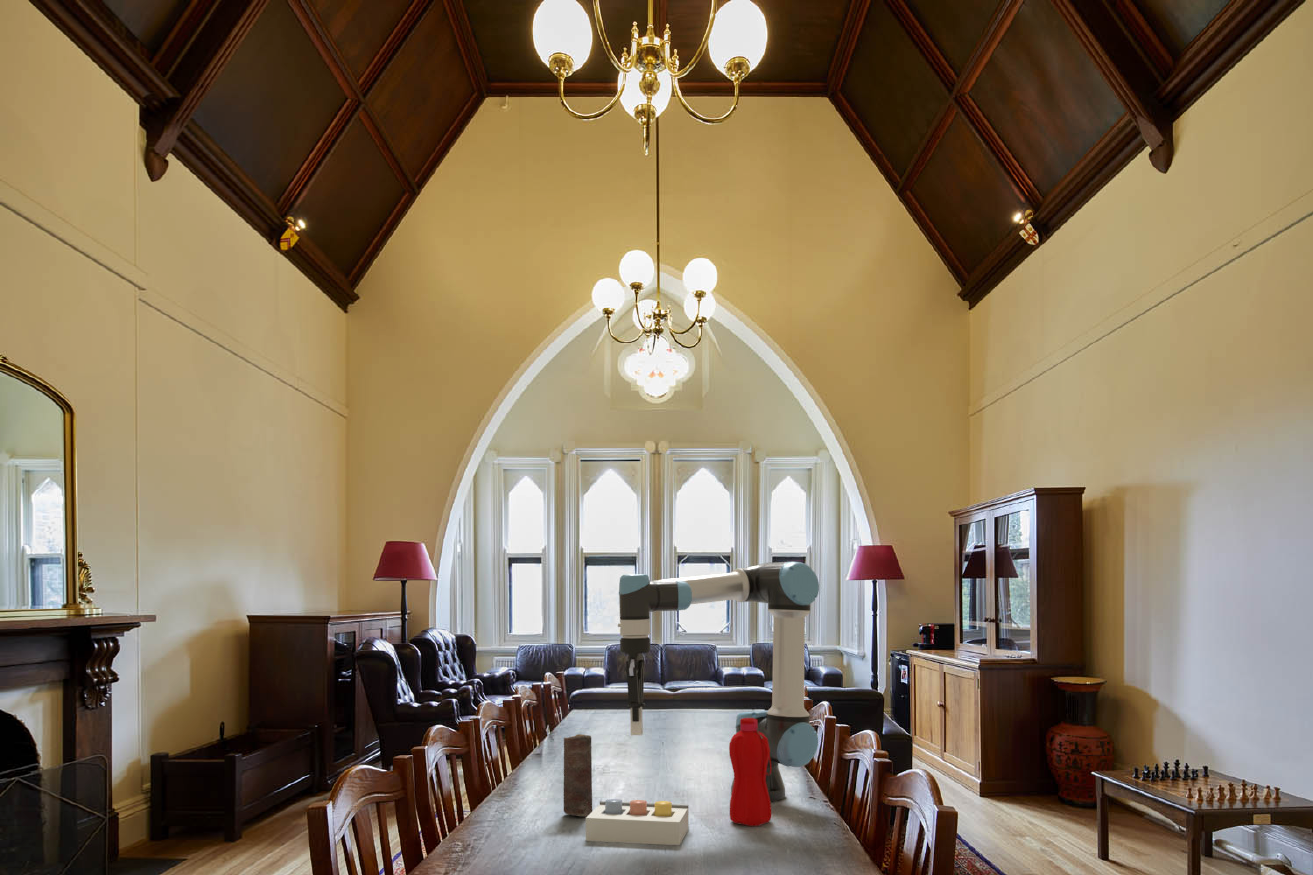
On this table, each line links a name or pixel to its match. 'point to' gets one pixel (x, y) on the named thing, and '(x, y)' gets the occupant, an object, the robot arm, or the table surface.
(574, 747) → the brown rounded bar
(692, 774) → the table surface
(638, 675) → the robot arm
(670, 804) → the button mustard
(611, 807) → the button slate
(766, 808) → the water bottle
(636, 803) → the button terracotta
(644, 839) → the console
